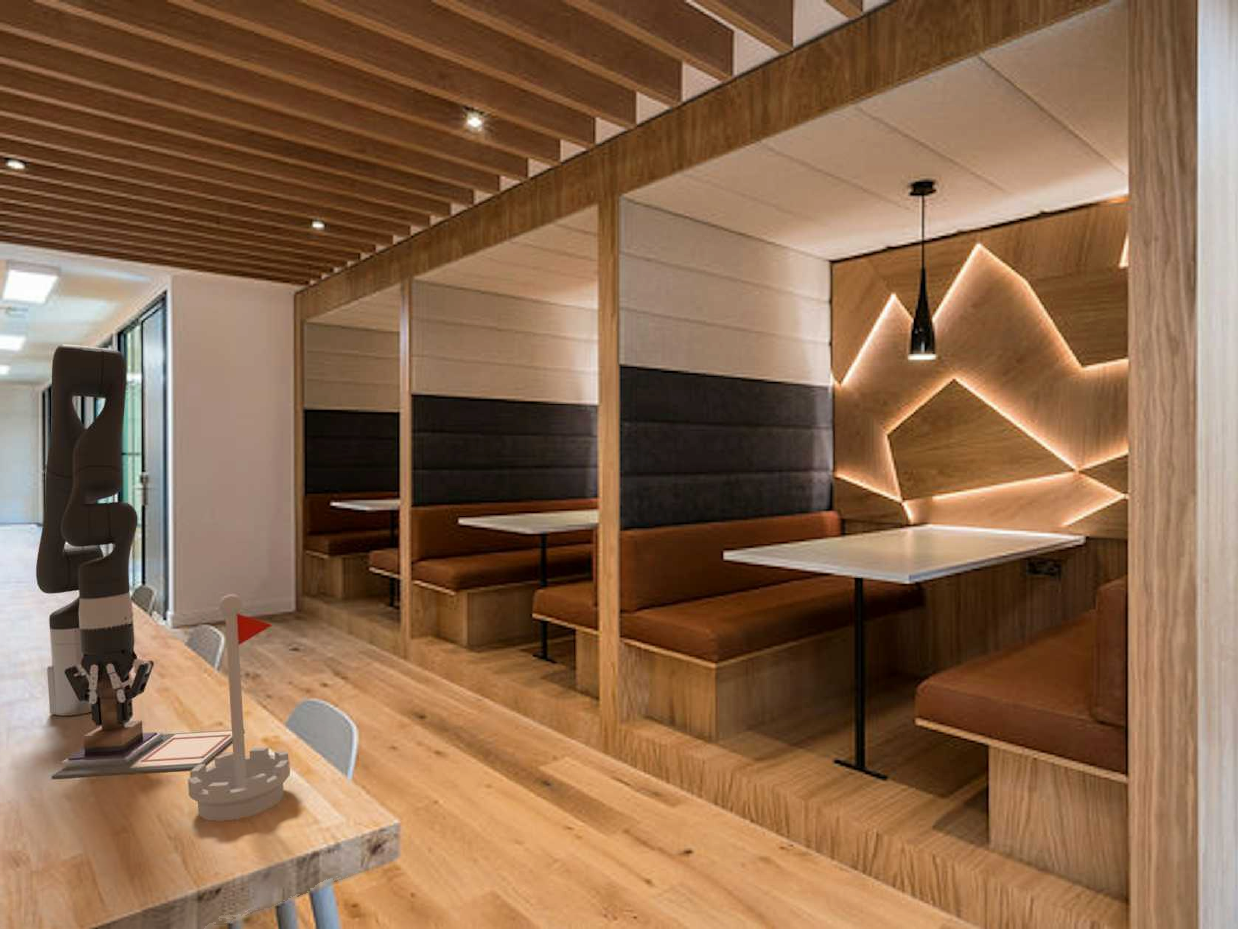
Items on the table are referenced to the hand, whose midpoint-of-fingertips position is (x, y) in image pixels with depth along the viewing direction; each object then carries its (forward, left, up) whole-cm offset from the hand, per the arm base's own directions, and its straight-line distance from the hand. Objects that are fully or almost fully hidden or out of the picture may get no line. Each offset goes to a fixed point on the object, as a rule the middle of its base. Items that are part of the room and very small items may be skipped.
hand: (113, 722), depth 130 cm
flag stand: (+30, -21, -6) cm, 37 cm away
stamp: (0, 0, -4) cm, 4 cm away
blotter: (+6, 0, -6) cm, 9 cm away
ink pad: (0, 0, -6) cm, 6 cm away
